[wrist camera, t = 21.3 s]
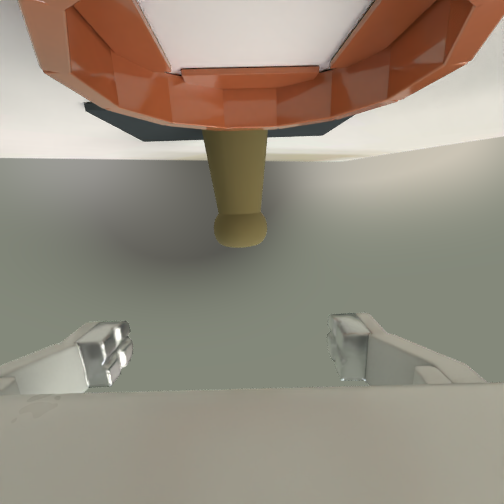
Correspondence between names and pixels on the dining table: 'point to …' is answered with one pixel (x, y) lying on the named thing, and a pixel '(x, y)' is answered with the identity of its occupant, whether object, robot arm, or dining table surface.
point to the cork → (237, 184)
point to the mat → (169, 133)
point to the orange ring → (253, 79)
